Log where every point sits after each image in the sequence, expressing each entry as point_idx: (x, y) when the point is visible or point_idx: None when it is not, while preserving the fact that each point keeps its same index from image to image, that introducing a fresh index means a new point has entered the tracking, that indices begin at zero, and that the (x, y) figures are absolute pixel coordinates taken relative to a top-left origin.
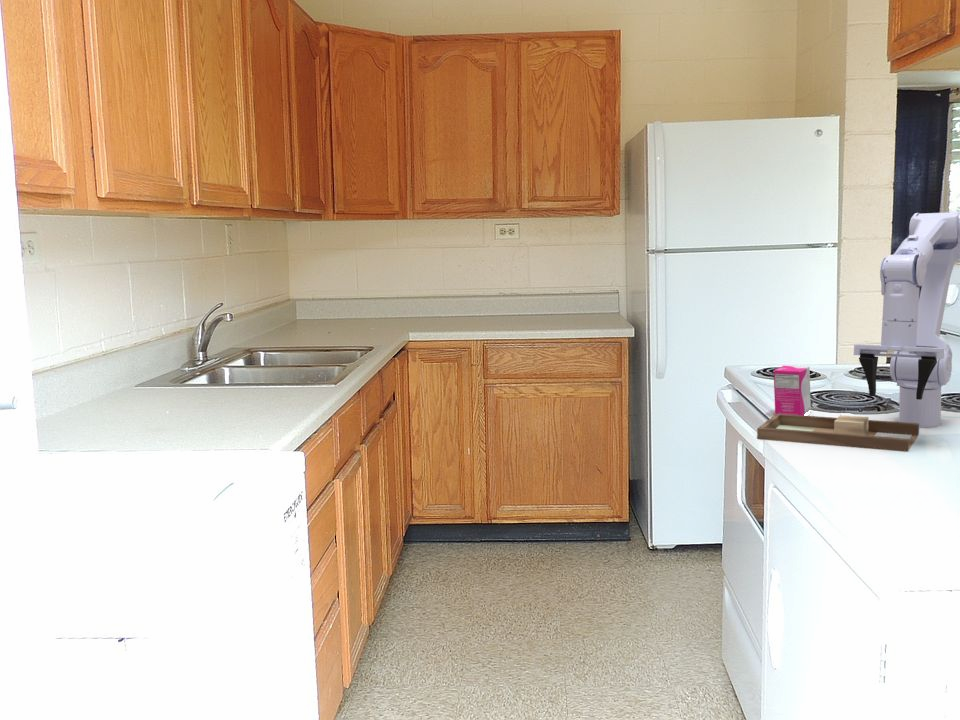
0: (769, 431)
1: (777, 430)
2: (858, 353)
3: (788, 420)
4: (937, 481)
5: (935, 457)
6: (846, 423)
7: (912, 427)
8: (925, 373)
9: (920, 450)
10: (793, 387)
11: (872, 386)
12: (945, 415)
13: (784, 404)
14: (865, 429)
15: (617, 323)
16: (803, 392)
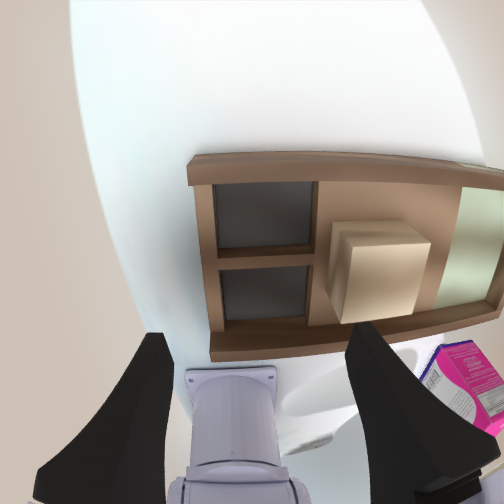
0: None
1: None
2: (490, 484)
3: (479, 307)
4: (97, 5)
5: (138, 211)
6: (398, 241)
7: (223, 345)
8: (89, 437)
9: (188, 262)
10: (484, 394)
11: (376, 352)
12: None
13: (479, 365)
14: (338, 268)
15: None
16: (462, 398)
